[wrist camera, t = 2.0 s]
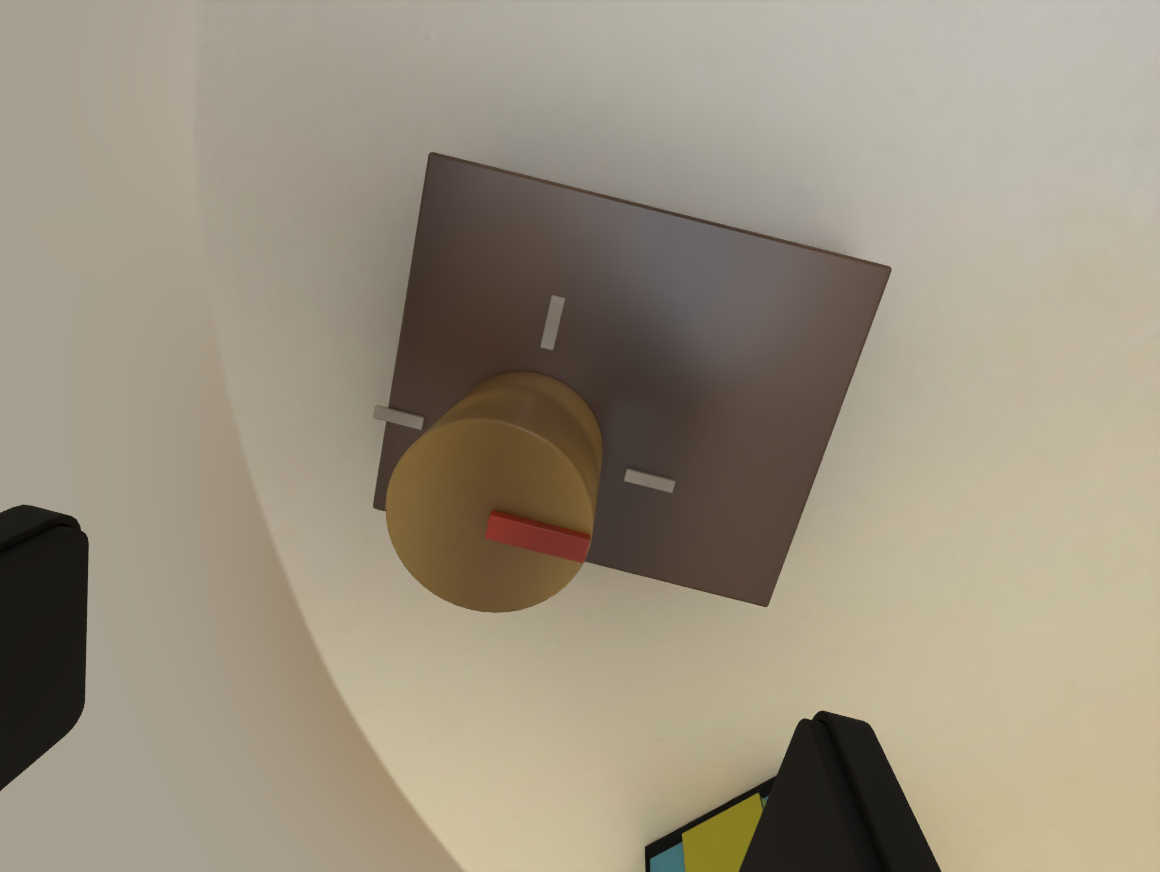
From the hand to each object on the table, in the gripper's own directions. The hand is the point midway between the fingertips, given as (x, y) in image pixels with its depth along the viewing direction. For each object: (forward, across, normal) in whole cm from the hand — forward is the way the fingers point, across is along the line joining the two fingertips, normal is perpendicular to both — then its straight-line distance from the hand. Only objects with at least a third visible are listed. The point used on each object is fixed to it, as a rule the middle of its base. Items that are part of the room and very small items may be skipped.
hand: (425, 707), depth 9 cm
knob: (+11, +1, 0) cm, 11 cm away
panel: (+14, -1, -2) cm, 14 cm away
